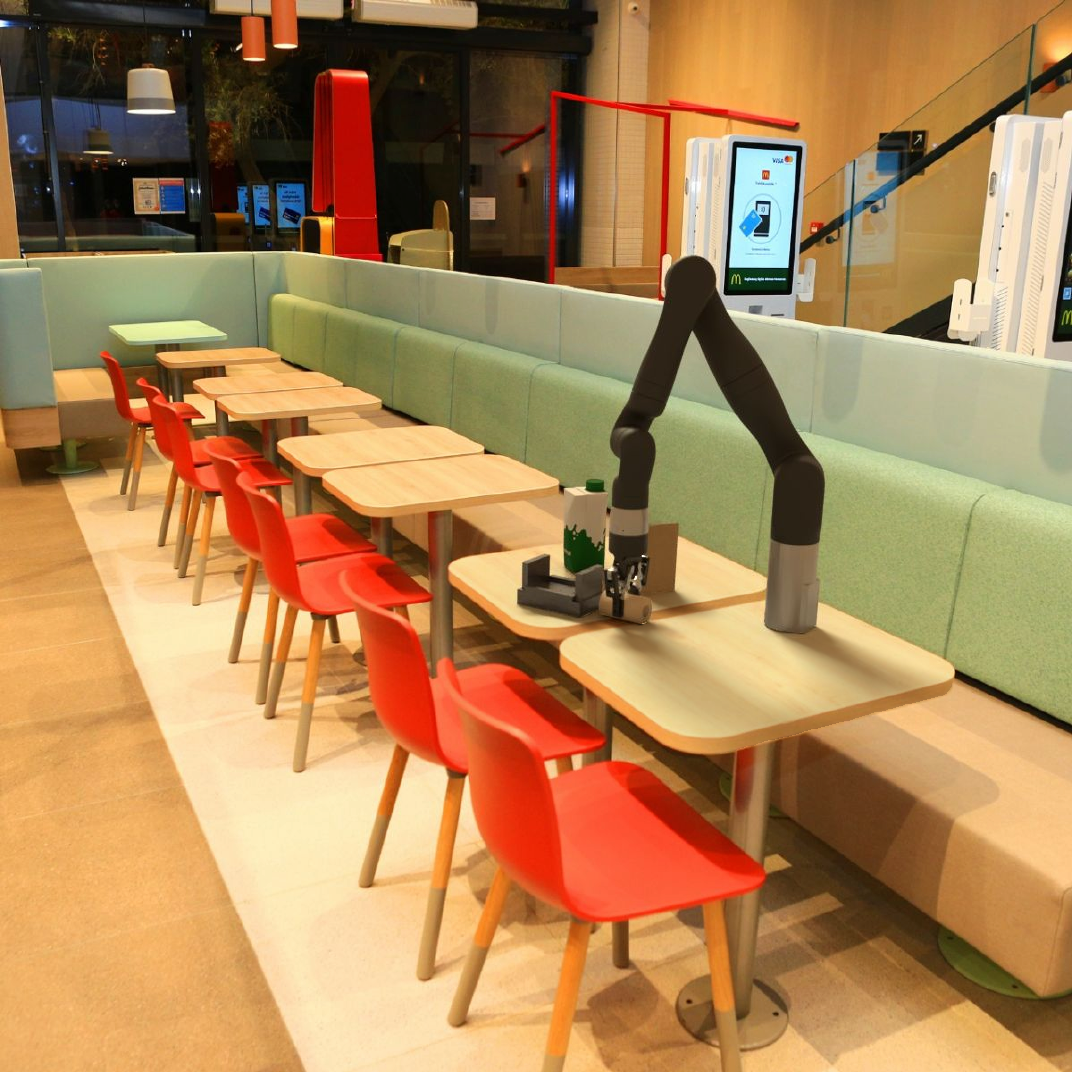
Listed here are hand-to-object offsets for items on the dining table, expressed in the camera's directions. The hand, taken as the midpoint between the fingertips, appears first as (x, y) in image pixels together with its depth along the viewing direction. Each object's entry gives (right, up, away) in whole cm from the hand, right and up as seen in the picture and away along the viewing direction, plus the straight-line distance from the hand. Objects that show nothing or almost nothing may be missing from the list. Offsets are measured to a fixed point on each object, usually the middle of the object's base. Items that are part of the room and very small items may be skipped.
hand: (625, 612), depth 223 cm
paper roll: (0, -1, 0) cm, 1 cm away
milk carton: (-7, +7, +33) cm, 35 cm away
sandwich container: (+5, +5, +24) cm, 25 cm away
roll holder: (-12, +1, +9) cm, 15 cm away
